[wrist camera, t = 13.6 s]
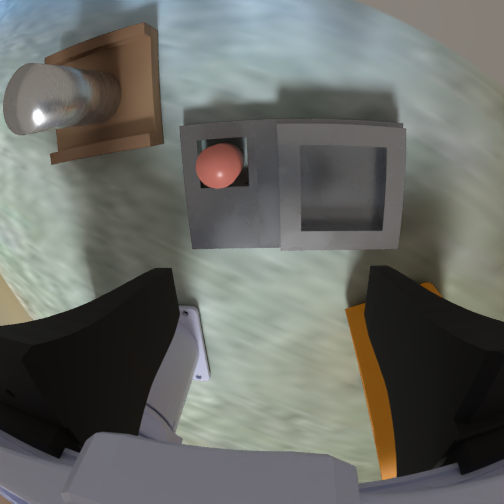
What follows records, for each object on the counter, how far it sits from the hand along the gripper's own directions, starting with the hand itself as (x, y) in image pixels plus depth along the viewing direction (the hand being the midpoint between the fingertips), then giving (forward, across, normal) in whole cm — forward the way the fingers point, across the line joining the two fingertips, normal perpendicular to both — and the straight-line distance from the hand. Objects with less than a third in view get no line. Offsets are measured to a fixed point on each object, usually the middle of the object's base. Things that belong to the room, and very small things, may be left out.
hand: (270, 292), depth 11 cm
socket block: (+10, -2, -2) cm, 10 cm away
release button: (+10, +3, -4) cm, 11 cm away
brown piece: (+10, +11, -9) cm, 17 cm away
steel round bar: (+9, +11, -9) cm, 17 cm away
